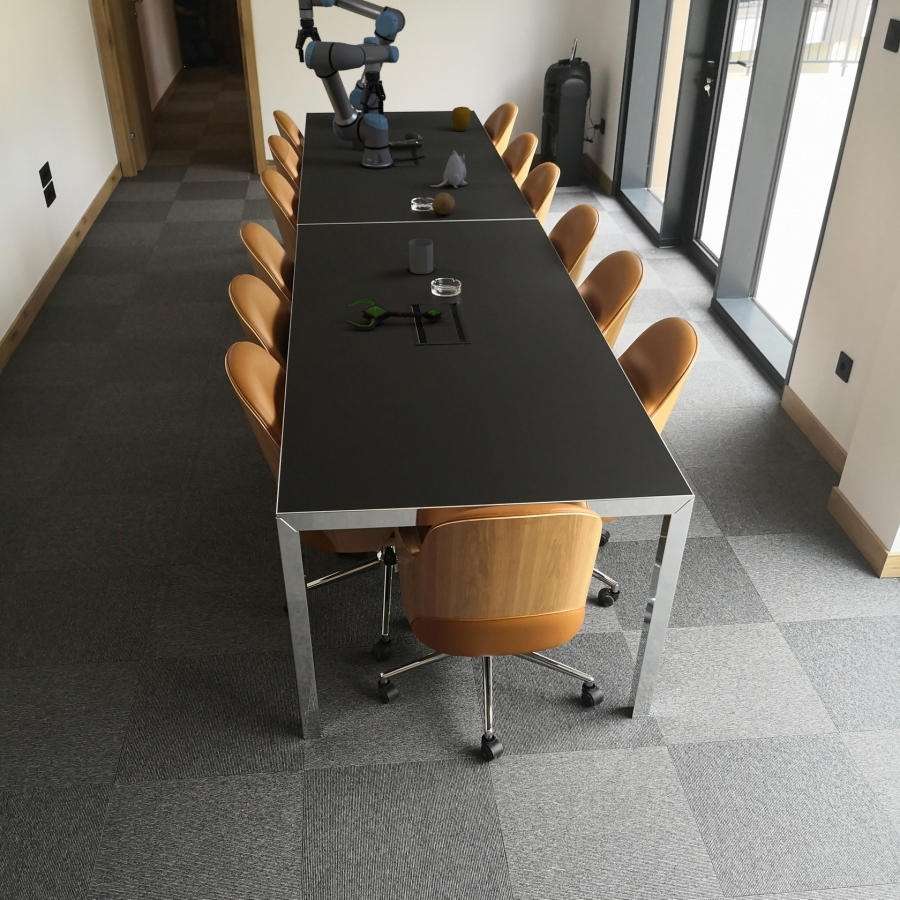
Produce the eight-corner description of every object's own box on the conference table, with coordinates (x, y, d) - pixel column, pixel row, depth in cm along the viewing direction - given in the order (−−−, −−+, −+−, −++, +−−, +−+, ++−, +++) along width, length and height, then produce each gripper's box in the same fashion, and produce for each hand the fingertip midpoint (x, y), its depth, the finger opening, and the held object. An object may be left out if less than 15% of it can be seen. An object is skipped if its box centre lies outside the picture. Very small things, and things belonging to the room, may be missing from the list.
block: (360, 146, 459) (359, 125, 454) (371, 148, 456) (370, 127, 450) (352, 149, 455) (351, 128, 449) (363, 151, 451) (362, 130, 446)
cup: (409, 265, 311) (408, 238, 306) (432, 265, 312) (431, 238, 307) (410, 274, 304) (409, 246, 299) (433, 273, 305) (433, 246, 299)
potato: (453, 208, 369) (453, 189, 365) (456, 218, 357) (456, 199, 353) (431, 208, 368) (430, 189, 364) (432, 218, 356) (432, 199, 352)
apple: (471, 132, 486) (471, 108, 479) (451, 132, 486) (451, 108, 479) (470, 128, 495) (471, 104, 488) (452, 128, 495) (452, 104, 488)
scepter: (442, 294, 271) (346, 291, 269) (443, 324, 264) (344, 322, 262) (441, 307, 276) (346, 304, 274) (442, 337, 269) (345, 335, 267)
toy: (472, 184, 399) (472, 151, 391) (436, 195, 384) (436, 161, 376) (457, 180, 404) (458, 147, 396) (422, 191, 389) (421, 157, 381)
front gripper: (379, 67, 442) (380, 111, 454) (351, 73, 424) (353, 119, 435) (392, 68, 439) (393, 113, 450) (364, 75, 421) (366, 121, 432)
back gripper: (316, 15, 482) (319, 57, 494) (286, 20, 464) (290, 63, 476) (326, 16, 479) (329, 58, 490) (297, 21, 461) (300, 64, 473)
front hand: (373, 116), depth 443 cm, fingers open, 13 cm apart
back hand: (310, 60), depth 483 cm, fingers open, 13 cm apart
